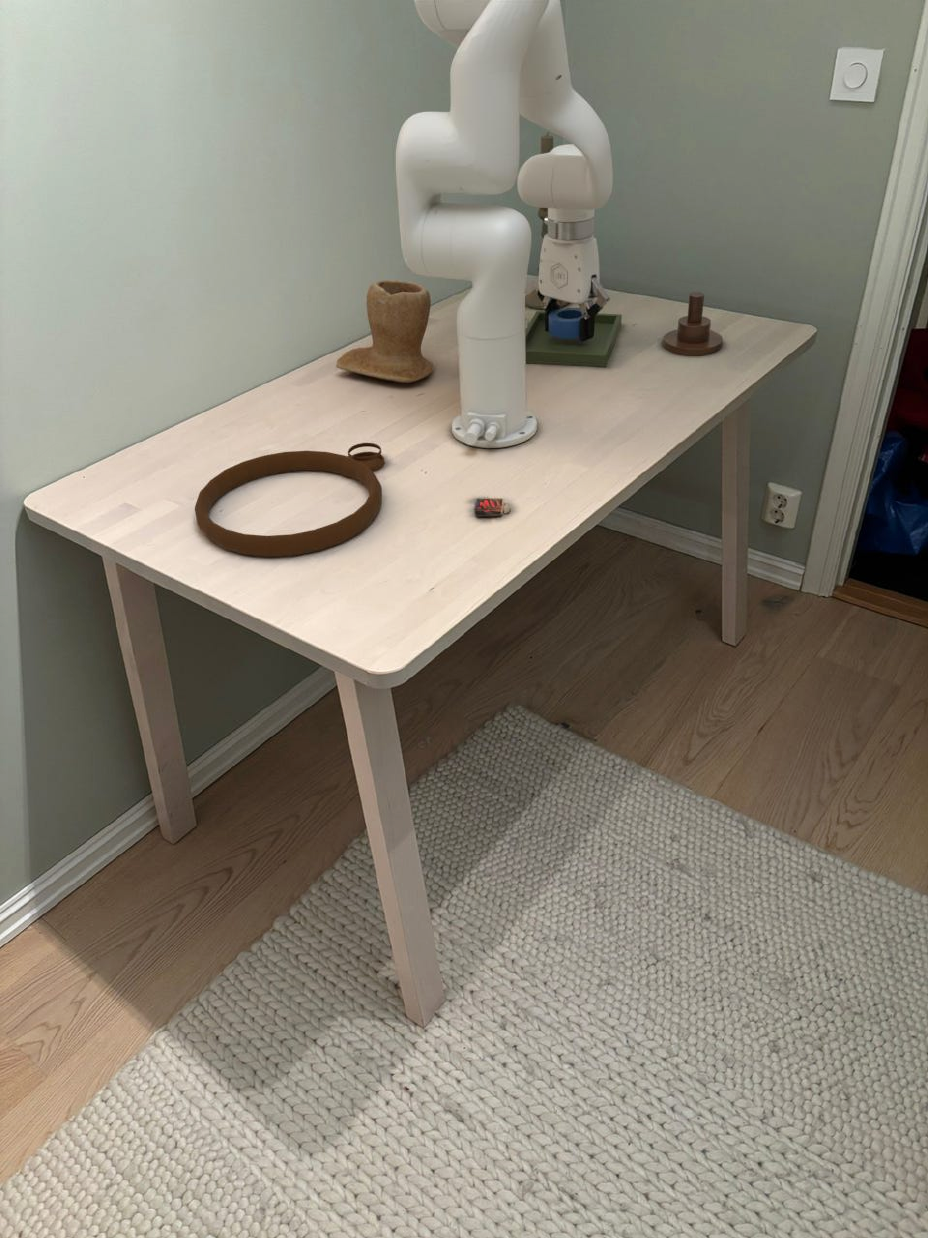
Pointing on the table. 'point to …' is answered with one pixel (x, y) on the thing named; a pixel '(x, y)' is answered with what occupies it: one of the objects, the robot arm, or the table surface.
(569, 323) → the ring
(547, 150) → the candlestick holder
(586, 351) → the tray
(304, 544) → the decorative ring
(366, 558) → the table surface
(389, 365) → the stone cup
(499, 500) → the matchbox
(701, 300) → the stand
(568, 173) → the robot arm
